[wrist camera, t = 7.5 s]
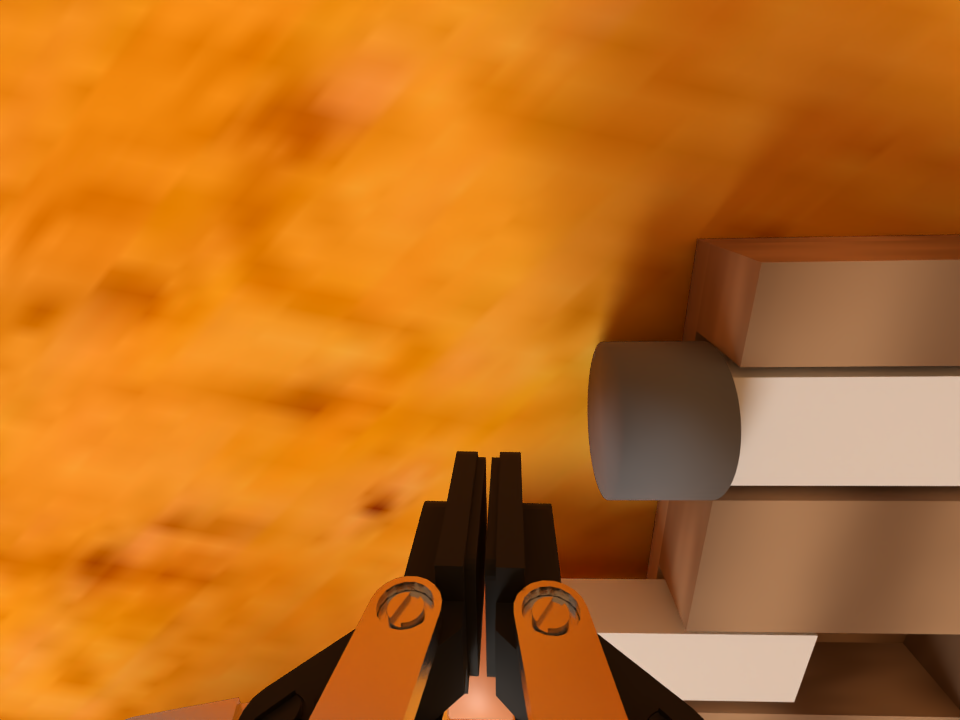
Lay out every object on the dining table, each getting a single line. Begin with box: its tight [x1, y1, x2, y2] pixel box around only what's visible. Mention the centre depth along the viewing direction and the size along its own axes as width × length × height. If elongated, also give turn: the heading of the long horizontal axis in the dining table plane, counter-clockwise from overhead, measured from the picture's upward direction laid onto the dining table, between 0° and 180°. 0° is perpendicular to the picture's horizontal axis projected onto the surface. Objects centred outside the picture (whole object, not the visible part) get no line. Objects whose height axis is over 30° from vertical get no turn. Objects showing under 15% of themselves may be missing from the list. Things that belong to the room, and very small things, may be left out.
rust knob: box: [449, 578, 818, 720], centre depth 18 cm, size 13×5×5 cm, turn 91°
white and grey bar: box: [588, 341, 960, 500], centre depth 14 cm, size 13×5×5 cm, turn 91°
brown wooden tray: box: [646, 235, 960, 720], centre depth 17 cm, size 12×20×5 cm, turn 1°
